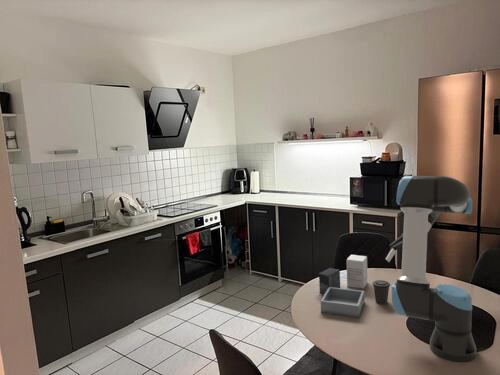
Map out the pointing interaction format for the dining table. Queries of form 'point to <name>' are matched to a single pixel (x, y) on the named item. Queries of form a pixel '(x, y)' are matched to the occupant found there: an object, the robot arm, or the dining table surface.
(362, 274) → the supplement box
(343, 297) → the bin
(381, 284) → the coffee cup
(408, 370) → the dining table surface
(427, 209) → the robot arm
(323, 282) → the small box
